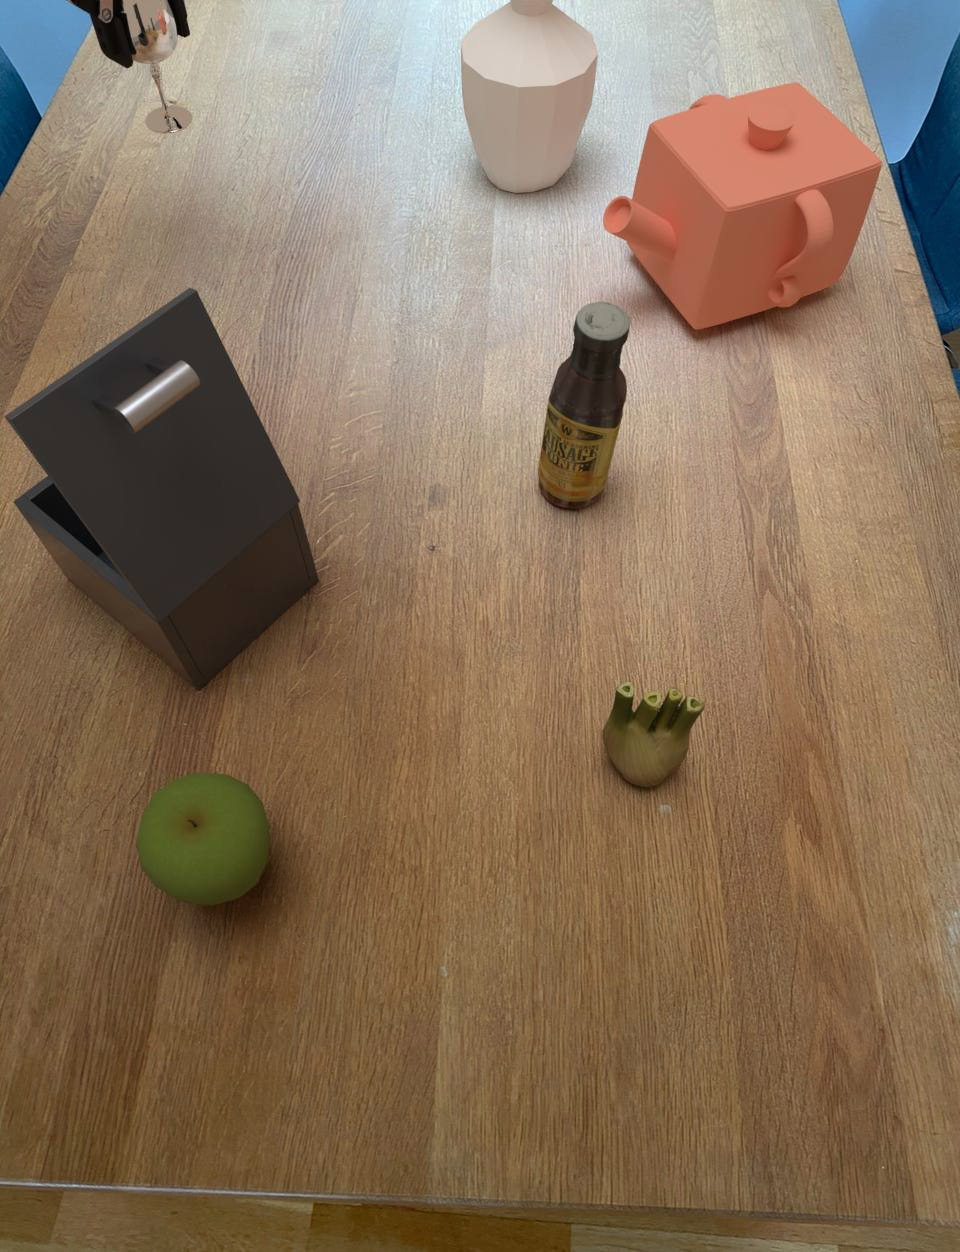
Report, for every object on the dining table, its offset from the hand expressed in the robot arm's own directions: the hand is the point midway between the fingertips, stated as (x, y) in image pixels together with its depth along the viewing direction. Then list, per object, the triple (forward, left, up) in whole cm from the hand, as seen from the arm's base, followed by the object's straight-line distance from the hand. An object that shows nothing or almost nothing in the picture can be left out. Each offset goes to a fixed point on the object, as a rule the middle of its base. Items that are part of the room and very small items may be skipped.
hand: (148, 44), depth 84 cm
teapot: (+45, +29, -21) cm, 57 cm away
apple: (+53, -45, -21) cm, 72 cm away
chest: (+32, -30, -21) cm, 48 cm away
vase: (+19, +32, -21) cm, 43 cm away
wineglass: (0, 0, -7) cm, 7 cm away
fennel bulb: (+71, -19, -21) cm, 76 cm away
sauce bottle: (+51, -1, -21) cm, 55 cm away
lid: (+37, -30, -1) cm, 48 cm away
